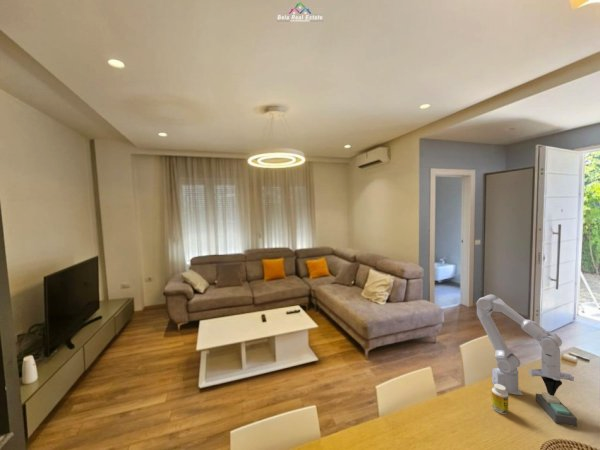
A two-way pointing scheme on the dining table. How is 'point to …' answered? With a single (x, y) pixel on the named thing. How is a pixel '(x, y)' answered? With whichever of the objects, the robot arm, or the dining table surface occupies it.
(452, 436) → the dining table surface
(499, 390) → the supplement bottle
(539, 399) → the bezel
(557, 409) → the key teal
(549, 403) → the board
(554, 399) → the key cream
